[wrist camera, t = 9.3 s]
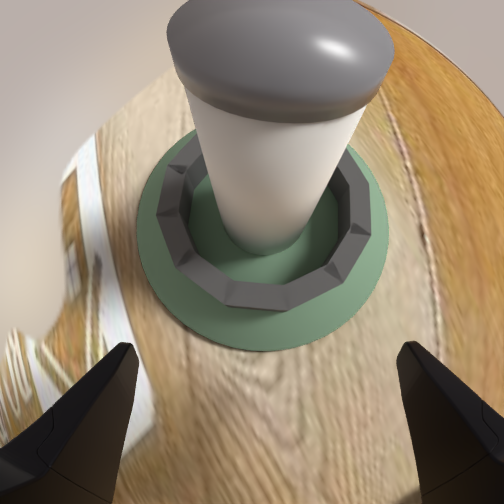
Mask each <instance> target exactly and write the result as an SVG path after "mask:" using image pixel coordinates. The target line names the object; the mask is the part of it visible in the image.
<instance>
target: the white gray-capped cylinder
mask: <svg viewBox="0 0 504 504" xmlns="http://www.w3.org/2000/svg"><path fill="white" fill-rule="evenodd" d="M167 40H168V44H169V47H170V51H171V55H172V58H173V62H174V66H175V69H176V72H177V75H178V77H179V79H180V80H181V82H182V83H183V85H184V87H185V90H186V94H187V98H188V102H189V105H190V109H191V113H192V117H193V120H194V124H195V128H196V131H197V135H198V138H199V142H200V146H201V149H202V153H203V156H204V160H205V164H206V167H207V171H208V174H209V178H210V181H211V185H212V188H213V192H214V195H215V199H216V202H217V206H218V209H219V212H220V216H221V219H222V223H223V226H224V229H225V231H226V233H227V235H228V237H229V238H230V239H231V241H232V242H233V243H234V244H235V245H237V246H238V247H239V248H241V249H242V250H244V251H246V252H249V253H252V254H256V255H273V254H277V253H280V252H282V251H284V250H286V249H288V248H289V247H291V246H292V245H293V244H294V243H295V242H296V241H297V240H298V238H299V237H300V235H301V233H302V232H303V230H304V228H305V226H306V224H307V222H308V220H309V218H310V217H311V215H312V213H313V211H314V209H315V207H316V205H317V203H318V201H319V199H320V197H321V196H322V194H323V192H324V190H325V188H326V186H327V184H328V182H329V180H330V178H331V176H332V174H333V172H334V170H335V168H336V166H337V164H338V162H339V160H340V158H341V156H342V154H343V152H344V150H345V148H346V146H347V144H348V142H349V140H350V138H351V136H352V134H353V132H354V130H355V128H356V126H357V124H358V122H359V120H360V118H361V116H362V114H363V112H364V110H365V108H366V105H367V104H368V103H369V102H370V101H371V100H372V99H373V98H374V97H375V95H376V94H377V92H378V90H379V88H380V86H381V84H382V82H383V80H384V78H385V75H386V73H387V71H388V69H389V67H390V65H391V63H392V61H393V58H394V44H393V41H392V38H391V36H390V34H389V33H388V31H387V29H386V28H385V27H384V26H383V24H382V23H381V22H380V21H379V20H378V19H377V18H376V17H375V16H374V15H373V14H371V13H370V12H369V11H368V10H366V9H365V8H363V7H362V6H360V5H359V4H357V3H356V2H354V1H352V0H189V1H188V2H186V3H185V4H184V5H182V6H181V7H180V8H179V9H178V10H177V11H176V12H175V13H174V15H173V16H172V17H171V19H170V21H169V23H168V26H167Z"/></svg>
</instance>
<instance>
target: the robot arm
mask: <svg viewBox="0 0 504 504" xmlns="http://www.w3.org/2000/svg"><path fill="white" fill-rule="evenodd" d="M396 364H397V370H398V376H399V382H400V389H401V396H402V401H403V406H404V410H405V414H406V418H407V422H408V427H409V431H410V436H411V440H412V445H413V450H414V455H415V460H416V466H417V471H418V477H419V484H420V490H421V498H422V504H504V418H503V417H502V416H501V415H499V414H498V413H497V412H496V411H495V410H494V409H492V408H491V407H490V406H489V405H488V404H487V403H486V402H485V401H484V400H482V399H481V398H480V397H479V396H478V395H477V394H476V393H475V392H474V391H473V390H471V389H470V388H469V387H468V386H467V385H466V384H465V383H464V382H463V381H461V380H460V379H459V378H458V377H457V376H456V375H455V374H454V373H452V372H451V371H450V370H449V369H448V368H447V367H446V366H445V365H443V364H442V363H441V362H440V361H439V360H438V359H437V358H435V357H434V356H433V355H432V354H431V353H430V352H428V351H427V350H426V349H425V348H424V347H423V346H421V345H420V344H419V343H418V342H416V341H408V342H405V343H404V344H403V346H402V348H401V350H400V352H399V354H398V356H397V360H396ZM138 368H139V359H138V356H137V354H136V351H135V349H134V346H133V345H132V344H131V343H126V342H120V343H119V344H117V345H116V346H115V347H114V348H113V349H112V350H111V351H110V352H109V353H108V354H107V355H105V356H104V357H103V358H102V359H101V360H100V361H99V362H98V363H97V364H96V365H95V366H94V367H93V368H92V369H90V370H89V371H88V372H87V373H86V374H85V375H84V376H83V377H82V378H81V379H80V380H79V381H78V382H77V383H76V384H74V385H73V386H72V387H71V388H70V389H69V390H68V391H67V392H66V393H65V394H64V395H63V396H62V397H61V398H60V399H59V400H58V401H57V402H56V403H55V404H53V406H52V407H50V408H49V409H48V410H47V411H46V412H45V413H44V414H43V415H42V416H41V417H40V418H39V419H37V420H36V421H35V422H34V423H33V424H32V425H30V426H29V427H28V428H27V429H25V430H24V431H23V432H22V433H20V434H19V435H18V436H16V437H15V438H14V439H13V440H11V441H10V442H9V443H7V444H6V445H5V446H3V447H2V448H0V504H112V501H113V496H114V490H115V485H116V479H117V474H118V469H119V464H120V459H121V455H122V450H123V445H124V441H125V437H126V432H127V428H128V424H129V420H130V416H131V412H132V407H133V402H134V396H135V388H136V381H137V374H138Z"/></svg>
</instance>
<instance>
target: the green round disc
mask: <svg viewBox="0 0 504 504" xmlns="http://www.w3.org/2000/svg"><path fill="white" fill-rule="evenodd" d="M388 240H389V225H388V216H387V210H386V206H385V202H384V198H383V195H382V193H381V190H380V188H379V185H378V183H377V181H376V179H375V177H374V175H373V174H372V172H371V170H370V169H369V167H368V166H367V165H366V163H365V162H364V160H363V159H362V158H361V157H360V156H359V154H358V153H357V152H356V151H355V150H354V149H353V148H352V147H351V146H350V145H349V144H347V146H346V148H345V150H344V152H343V154H342V156H341V158H340V160H339V162H338V164H337V166H336V168H335V170H334V172H333V174H332V176H331V178H330V180H329V182H328V184H327V186H326V188H325V190H324V192H323V194H322V196H321V197H320V199H319V201H318V203H317V205H316V207H315V209H314V211H313V213H312V215H311V217H310V218H309V220H308V222H307V224H306V226H305V228H304V230H303V232H302V233H301V235H300V237H299V238H298V240H297V241H296V242H295V243H294V244H293V245H292V246H291V247H289V248H288V249H286V250H284V251H282V252H280V253H277V254H273V255H256V254H252V253H249V252H246V251H244V250H242V249H241V248H239V247H238V246H237V245H235V244H234V243H233V242H232V241H231V239H230V238H229V237H228V235H227V233H226V231H225V229H224V226H223V223H222V219H221V216H220V212H219V209H218V206H217V202H216V199H215V195H214V192H213V188H212V185H211V181H210V178H209V174H208V171H207V167H206V164H205V160H204V156H203V153H202V149H201V146H200V142H199V138H198V135H197V131H196V129H195V130H193V131H191V132H190V133H188V134H187V135H186V136H184V137H183V138H182V139H180V140H179V141H178V142H177V143H176V144H175V145H174V146H173V147H172V148H170V149H169V150H168V151H167V153H166V154H165V155H164V156H163V157H162V159H161V160H160V161H159V162H158V164H157V165H156V167H155V169H154V170H153V172H152V173H151V175H150V177H149V179H148V181H147V184H146V186H145V188H144V191H143V194H142V197H141V201H140V204H139V210H138V216H137V243H138V251H139V255H140V259H141V263H142V266H143V269H144V271H145V274H146V276H147V278H148V281H149V283H150V285H151V286H152V288H153V290H154V291H155V293H156V294H157V296H158V298H159V299H160V300H161V301H162V303H163V304H164V305H165V306H166V307H167V309H168V310H169V311H170V312H171V313H172V314H173V315H174V316H175V317H177V318H178V319H179V320H180V321H181V322H182V323H183V324H185V325H186V326H188V327H189V328H191V329H192V330H194V331H195V332H197V333H198V334H200V335H202V336H204V337H206V338H208V339H210V340H213V341H215V342H217V343H221V344H224V345H227V346H230V347H233V348H239V349H245V350H251V351H275V350H284V349H291V348H294V347H298V346H302V345H305V344H308V343H311V342H313V341H316V340H318V339H320V338H322V337H325V336H326V335H328V334H330V333H331V332H333V331H334V330H336V329H338V328H339V327H341V326H342V325H343V324H344V323H345V322H347V321H348V320H349V319H350V318H351V317H353V316H354V315H355V313H356V312H357V311H358V310H359V309H360V308H361V307H362V306H363V304H364V303H365V302H366V300H367V299H368V297H369V296H370V294H371V293H372V291H373V290H374V288H375V286H376V284H377V282H378V280H379V278H380V275H381V273H382V270H383V267H384V263H385V260H386V255H387V249H388Z"/></svg>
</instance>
